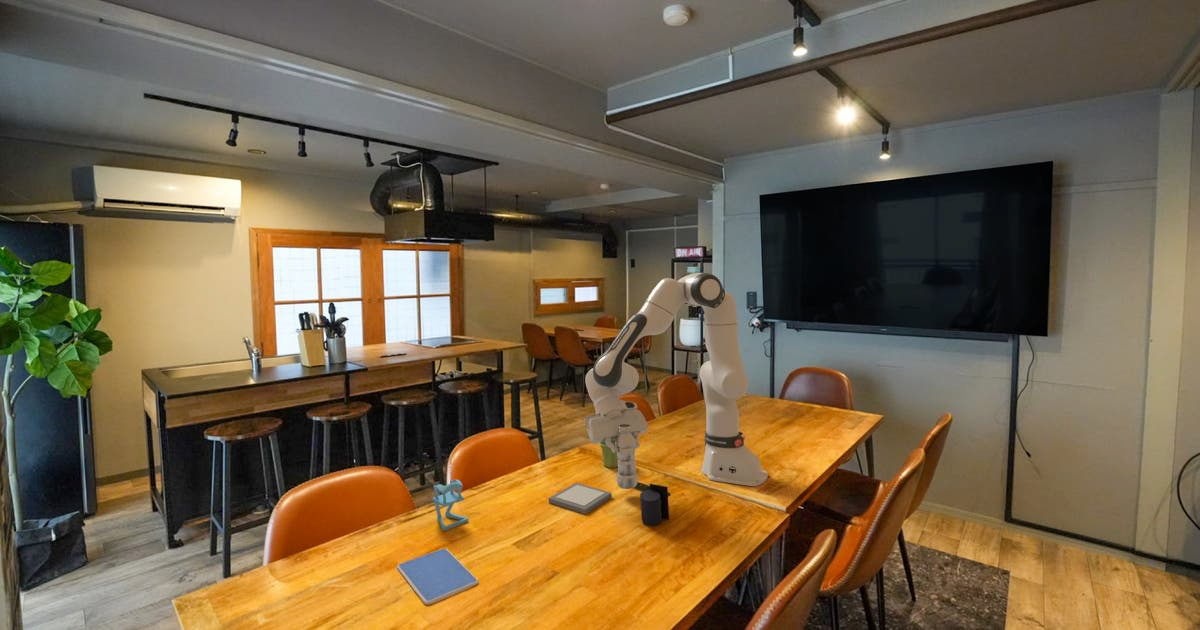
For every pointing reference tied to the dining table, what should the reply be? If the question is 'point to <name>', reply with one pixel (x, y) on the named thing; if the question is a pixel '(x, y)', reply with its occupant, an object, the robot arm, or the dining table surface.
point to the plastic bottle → (626, 458)
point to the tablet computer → (436, 576)
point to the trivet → (580, 498)
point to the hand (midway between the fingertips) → (626, 449)
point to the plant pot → (609, 455)
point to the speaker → (654, 505)
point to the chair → (448, 502)
